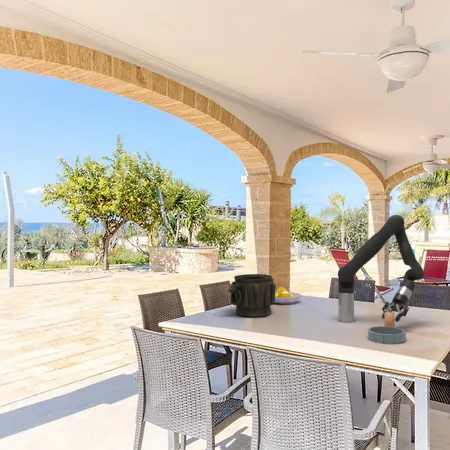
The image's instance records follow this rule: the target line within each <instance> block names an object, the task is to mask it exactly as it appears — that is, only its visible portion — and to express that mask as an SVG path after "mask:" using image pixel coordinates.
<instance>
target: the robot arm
mask: <svg viewBox="0 0 450 450" xmlns="http://www.w3.org/2000/svg"><path fill="white" fill-rule="evenodd" d="M393 236H394V238H395V240H396V243H397V246H398V247H397V248H398V250H399V253H400V256H401V260H402V262H403V264H404V265H405V266H408V267H409V269H407V270H406V271H405V272H404V276H403V279H402V280H403V281H402V282H401V285H400V286H399V288H397V291H396V292H395V294H394V296H393V298H392V302H389V301H385V303H384V305H383V307H382V308H381V310H382V314H381V318H382V319H383V320H385V316H384V312H394V313H395V312H396V313H397V315H396V317H395V322H397V323H398V322H399V321H400V320H401V318H402V317H406V316H407V314H408V312H409V310H410V307H409V306H408V305H407V304H408V302H409V301H410V298H411V296H412V294H413V292H414V290H415V288H416V284H415V281H418V280H419V281H420V280H422V279H424V276H425V271H424V269H423V267H422V265H421V264H420V263H419V262H418V260H417V258H416V255H415V252H414V249H413V247H412V245H411V243H410V241H409V238H408V235H407V233H406V227H405V219H404V218H403V216H401V215H399V214H393V215H391V216H390V217H388V219H387V221H385V223H384V225H383V226H381V228H380V229H379V230H378V231H376V233H374V234H373V235H371V237H370V238H368V239H367V240H366V241H365V242H364V243H363V244H362V246H361V247H360V248H359V249H358V250H357V251H356V253H355V254H354V256H353V257H352V258H351V260H349V261H347V263H345V265H342V266H341V267H340V268H339V269H338V271H337V277H338V278H337V279H338V287H337V292H338V295H337V296H338V300H337V301H338V304H337V305H338V308H337V310H338V311H337V312H338V314H337V315H338V322H341V323H342V322H343V323H354V321H355V275H356V274H357V273H358V272H359V270H361V268H362V267H363V266H365V265H366V264H367V263H369V262H370V261H371V260H372V259H374V257H376V255H377V254H379V252H380V251H381V250H382V249H383V247H384V246H385V245H386V244H387V242H388V241H389V240H390V238H391V237H393Z"/></svg>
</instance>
